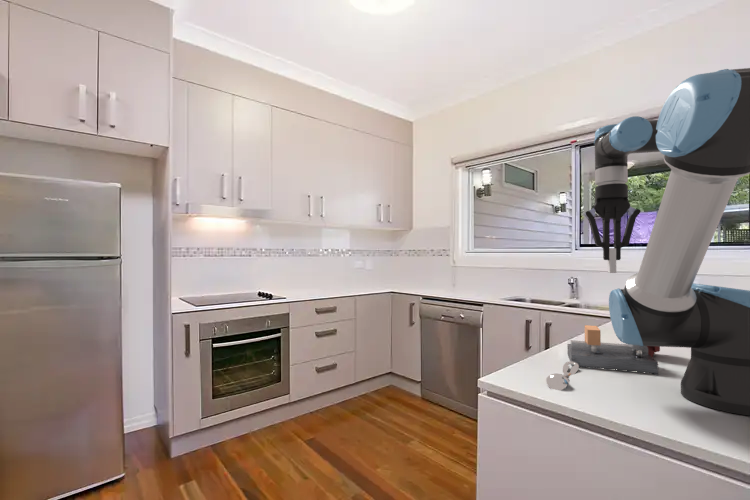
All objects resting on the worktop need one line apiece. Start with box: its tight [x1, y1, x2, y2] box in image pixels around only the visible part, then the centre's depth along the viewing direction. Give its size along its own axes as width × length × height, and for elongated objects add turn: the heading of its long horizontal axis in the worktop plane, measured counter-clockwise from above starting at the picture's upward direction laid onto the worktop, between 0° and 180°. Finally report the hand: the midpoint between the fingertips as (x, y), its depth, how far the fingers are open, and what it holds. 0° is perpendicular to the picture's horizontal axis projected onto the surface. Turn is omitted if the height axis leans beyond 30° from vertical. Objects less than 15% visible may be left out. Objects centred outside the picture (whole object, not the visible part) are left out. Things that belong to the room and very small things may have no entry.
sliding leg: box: [584, 324, 602, 352], centre depth 106 cm, size 7×3×6 cm, turn 158°
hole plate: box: [567, 343, 659, 375], centre depth 105 cm, size 13×19×3 cm
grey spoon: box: [545, 360, 579, 391], centre depth 93 cm, size 20×4×5 cm
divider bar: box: [570, 339, 648, 357], centre depth 105 cm, size 6×18×6 cm, turn 68°
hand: (612, 272), depth 103 cm, fingers closed
